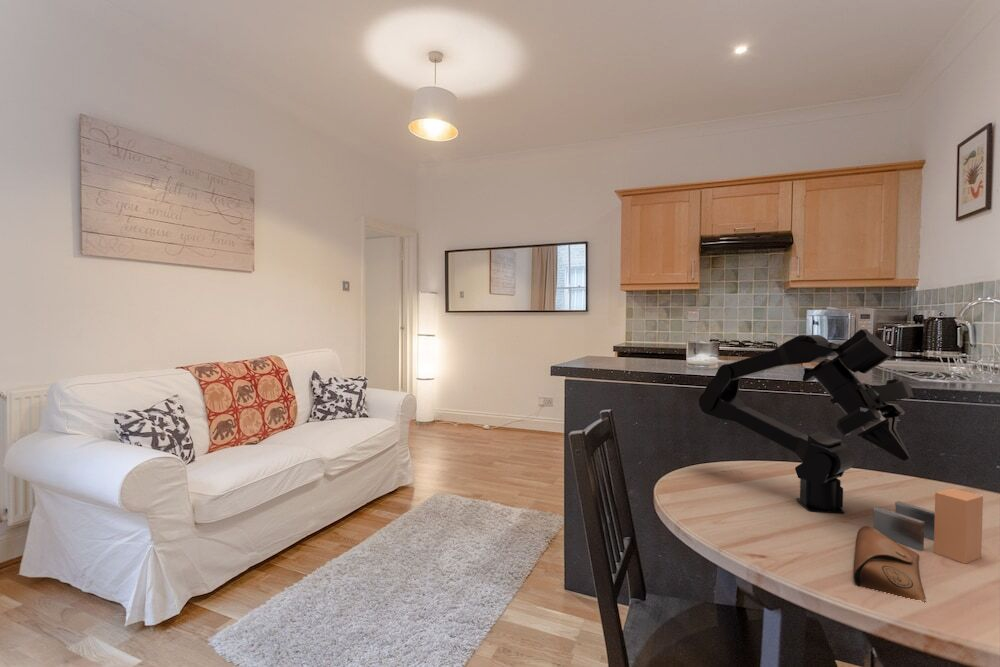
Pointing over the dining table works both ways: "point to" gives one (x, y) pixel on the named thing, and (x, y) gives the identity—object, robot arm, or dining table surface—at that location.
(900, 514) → the silver twin-wall channel
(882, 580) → the sunglasses case
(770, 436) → the robot arm
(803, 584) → the dining table surface
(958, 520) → the block
